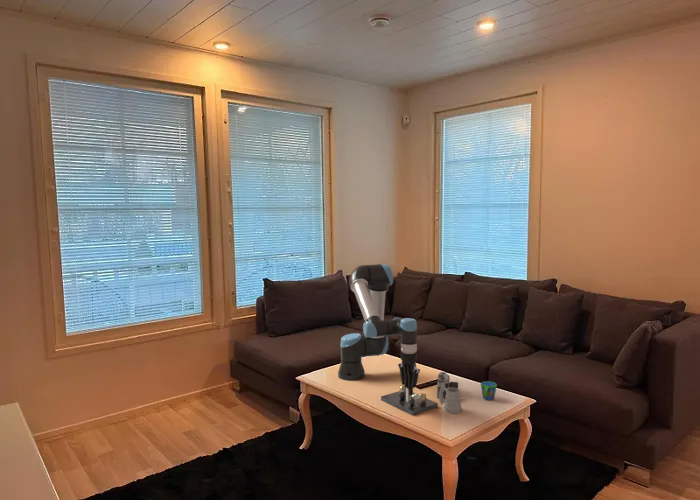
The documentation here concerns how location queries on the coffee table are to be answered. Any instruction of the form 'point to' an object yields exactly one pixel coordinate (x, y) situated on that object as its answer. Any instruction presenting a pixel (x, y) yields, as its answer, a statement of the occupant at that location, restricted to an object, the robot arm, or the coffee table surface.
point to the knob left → (402, 392)
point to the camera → (445, 378)
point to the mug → (450, 399)
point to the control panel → (404, 405)
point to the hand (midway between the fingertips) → (409, 400)
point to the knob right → (417, 400)
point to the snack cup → (488, 390)
